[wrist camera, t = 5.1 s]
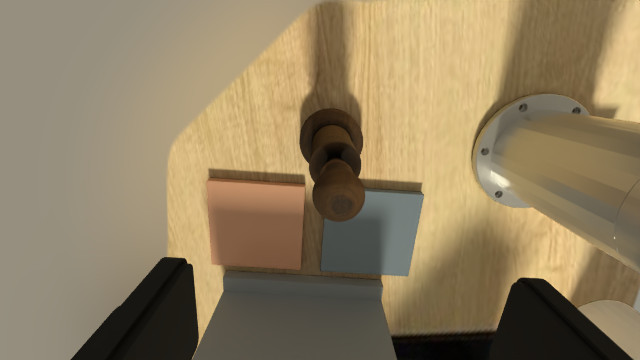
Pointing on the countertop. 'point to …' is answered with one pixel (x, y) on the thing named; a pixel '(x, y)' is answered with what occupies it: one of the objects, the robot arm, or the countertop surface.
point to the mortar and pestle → (334, 163)
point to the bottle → (616, 323)
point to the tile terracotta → (256, 223)
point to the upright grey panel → (297, 319)
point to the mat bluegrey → (374, 235)
